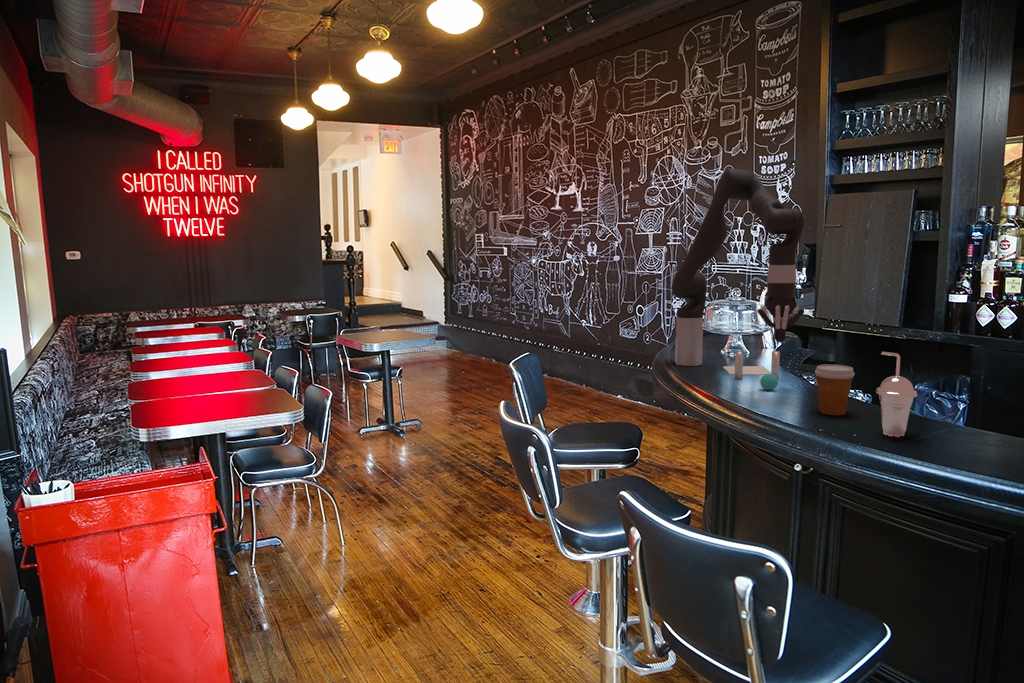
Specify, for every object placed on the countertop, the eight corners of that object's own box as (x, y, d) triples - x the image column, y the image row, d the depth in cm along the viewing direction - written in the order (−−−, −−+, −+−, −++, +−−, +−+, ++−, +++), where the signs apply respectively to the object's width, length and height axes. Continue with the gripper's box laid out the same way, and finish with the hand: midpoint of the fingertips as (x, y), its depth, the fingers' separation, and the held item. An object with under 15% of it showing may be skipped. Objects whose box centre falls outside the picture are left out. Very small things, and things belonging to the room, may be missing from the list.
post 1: (735, 379, 227) (736, 352, 226) (733, 378, 230) (734, 351, 228) (743, 379, 227) (743, 352, 226) (741, 378, 229) (742, 351, 228)
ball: (762, 391, 210) (762, 375, 209) (758, 388, 215) (758, 372, 214) (779, 392, 209) (780, 375, 208) (775, 388, 214) (775, 372, 213)
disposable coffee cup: (804, 410, 188) (806, 366, 186) (831, 406, 191) (833, 363, 190) (833, 418, 179) (836, 372, 177) (860, 414, 183) (863, 368, 181)
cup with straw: (920, 440, 160) (926, 353, 157) (877, 438, 161) (883, 352, 158) (906, 429, 168) (912, 347, 165) (866, 428, 170) (870, 346, 167)
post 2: (771, 380, 226) (772, 352, 225) (770, 378, 228) (771, 351, 227) (779, 380, 226) (780, 352, 224) (777, 378, 228) (778, 351, 227)
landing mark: (730, 374, 235) (730, 374, 235) (722, 366, 249) (722, 366, 249) (773, 374, 234) (773, 374, 234) (763, 366, 247) (763, 366, 247)
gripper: (802, 279, 200) (799, 339, 203) (754, 280, 202) (752, 340, 205) (810, 281, 193) (807, 343, 196) (760, 282, 195) (758, 344, 197)
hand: (779, 341), depth 200 cm, fingers closed
